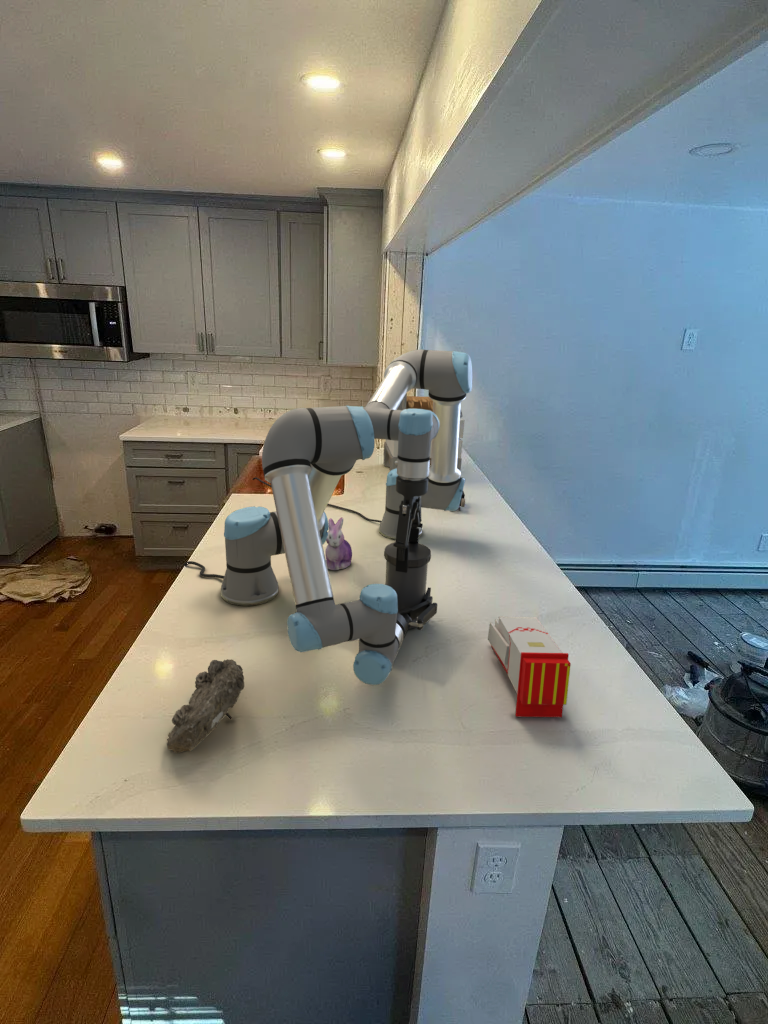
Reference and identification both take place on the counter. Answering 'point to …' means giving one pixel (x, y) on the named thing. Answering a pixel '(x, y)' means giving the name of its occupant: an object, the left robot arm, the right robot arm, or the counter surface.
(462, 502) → the figurine character
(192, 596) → the counter surface
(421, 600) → the jar
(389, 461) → the white slatted box
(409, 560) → the lid
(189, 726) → the fossil
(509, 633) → the toy
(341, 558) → the figurine
